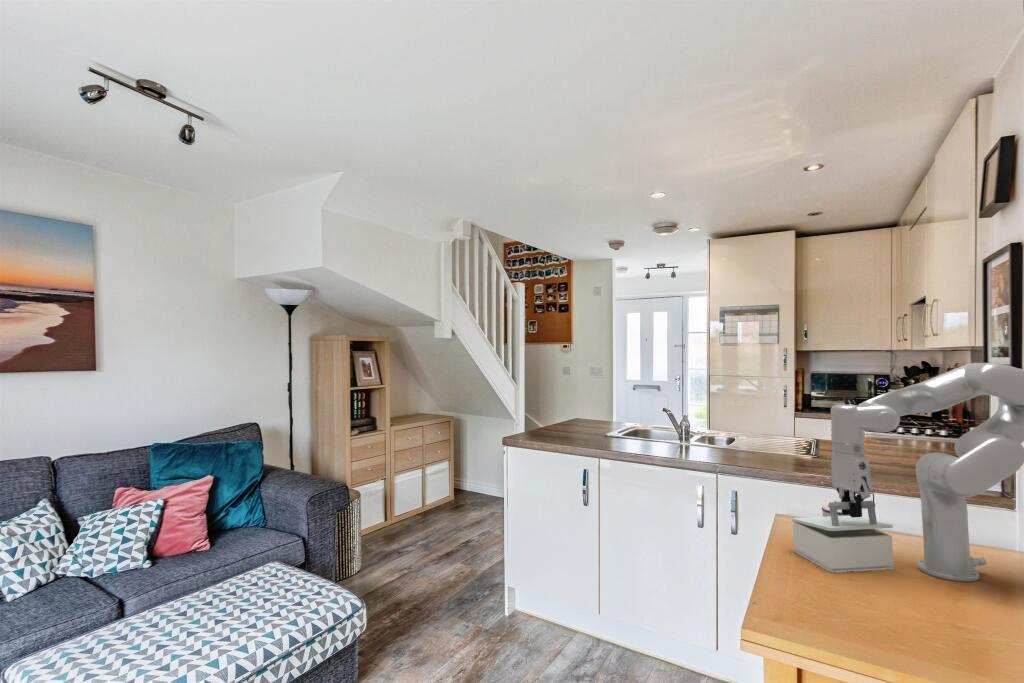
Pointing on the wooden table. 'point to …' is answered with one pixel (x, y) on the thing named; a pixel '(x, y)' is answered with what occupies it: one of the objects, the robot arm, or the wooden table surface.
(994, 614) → the wooden table surface
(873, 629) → the wooden table surface
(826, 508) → the teacup with lid
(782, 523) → the wooden table surface
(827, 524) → the carton lid
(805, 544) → the carton
